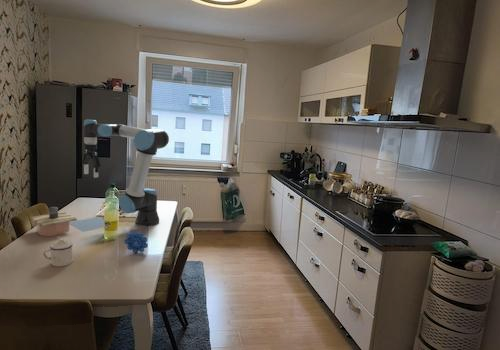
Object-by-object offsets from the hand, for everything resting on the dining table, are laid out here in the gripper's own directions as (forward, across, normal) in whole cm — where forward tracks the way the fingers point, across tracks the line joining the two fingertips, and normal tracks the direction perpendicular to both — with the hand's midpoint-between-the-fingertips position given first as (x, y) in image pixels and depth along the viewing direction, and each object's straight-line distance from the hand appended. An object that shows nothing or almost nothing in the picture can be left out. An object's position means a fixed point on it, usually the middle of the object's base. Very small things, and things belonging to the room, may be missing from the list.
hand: (91, 175), depth 219 cm
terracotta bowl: (+29, +12, -28) cm, 42 cm away
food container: (+29, -13, +32) cm, 45 cm away
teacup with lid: (+29, +57, -43) cm, 77 cm away
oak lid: (+22, +12, -28) cm, 37 cm away
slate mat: (+29, +14, -6) cm, 32 cm away
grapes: (+29, +71, -11) cm, 77 cm away
